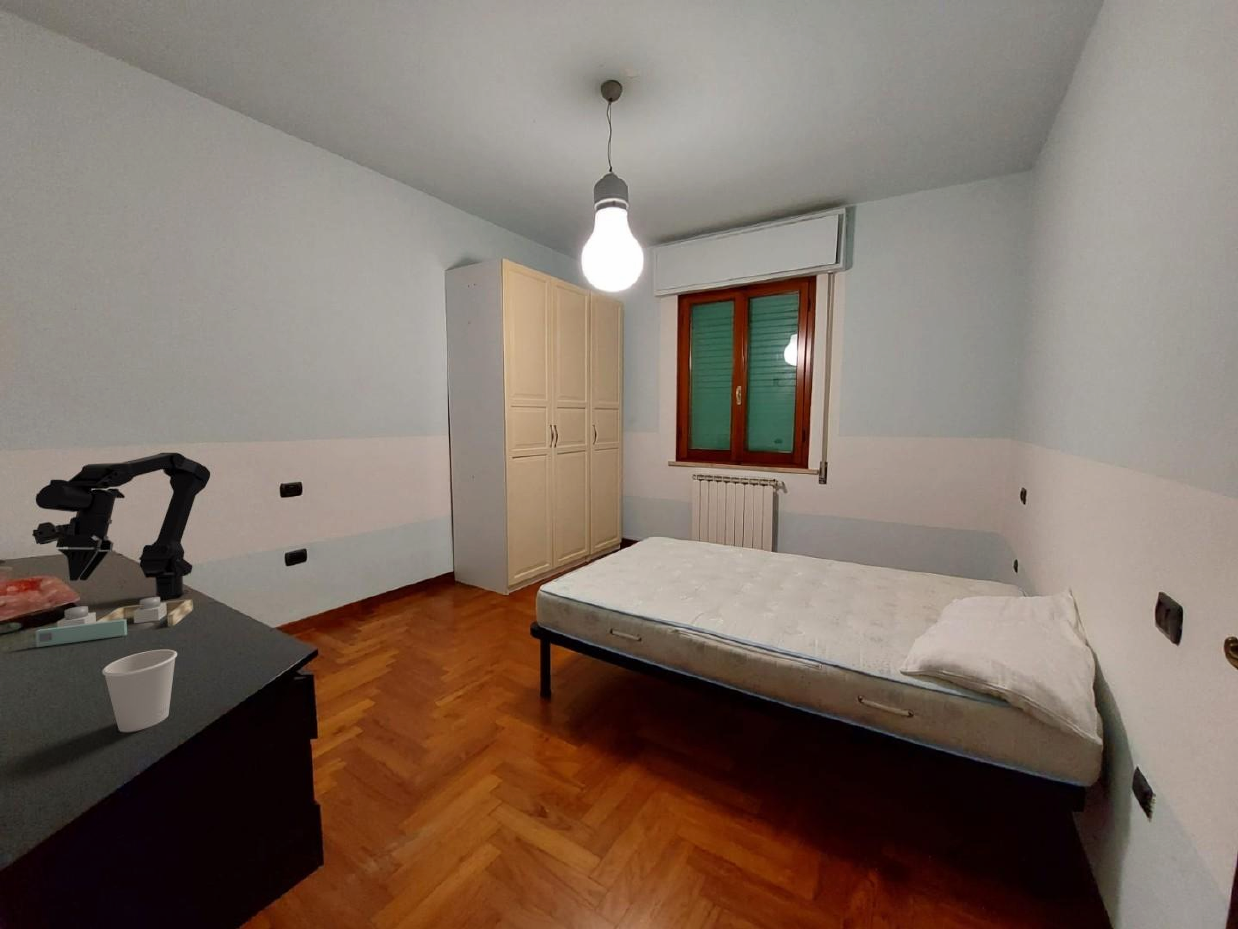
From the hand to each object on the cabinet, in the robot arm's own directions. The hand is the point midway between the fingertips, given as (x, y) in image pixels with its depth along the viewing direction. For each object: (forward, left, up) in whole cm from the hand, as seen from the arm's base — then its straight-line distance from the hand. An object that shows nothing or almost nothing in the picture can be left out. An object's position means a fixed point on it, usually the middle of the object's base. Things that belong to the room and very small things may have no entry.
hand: (78, 580), depth 109 cm
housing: (0, +12, -12) cm, 17 cm away
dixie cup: (+53, +31, -12) cm, 63 cm away
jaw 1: (-2, -1, -12) cm, 12 cm away
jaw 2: (-2, +12, -12) cm, 17 cm away
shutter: (+9, +4, -12) cm, 15 cm away
